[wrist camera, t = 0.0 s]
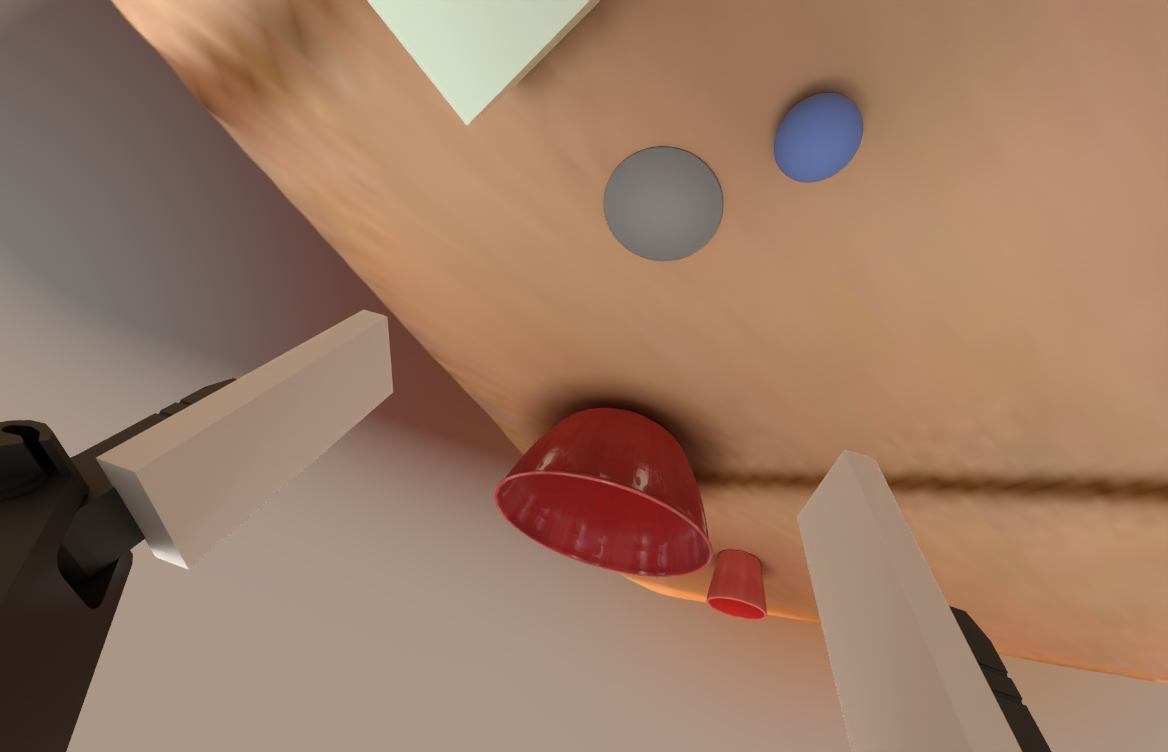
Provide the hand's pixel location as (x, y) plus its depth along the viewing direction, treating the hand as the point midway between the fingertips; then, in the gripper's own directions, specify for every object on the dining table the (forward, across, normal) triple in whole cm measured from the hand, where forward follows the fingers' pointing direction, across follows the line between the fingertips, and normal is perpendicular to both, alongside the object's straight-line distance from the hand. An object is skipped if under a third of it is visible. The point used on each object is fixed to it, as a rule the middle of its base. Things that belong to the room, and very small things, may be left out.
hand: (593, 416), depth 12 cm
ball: (+24, +8, +8) cm, 27 cm away
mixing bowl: (+41, +2, -33) cm, 53 cm away
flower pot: (+51, +32, -63) cm, 87 cm away
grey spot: (+29, -1, +1) cm, 29 cm away
